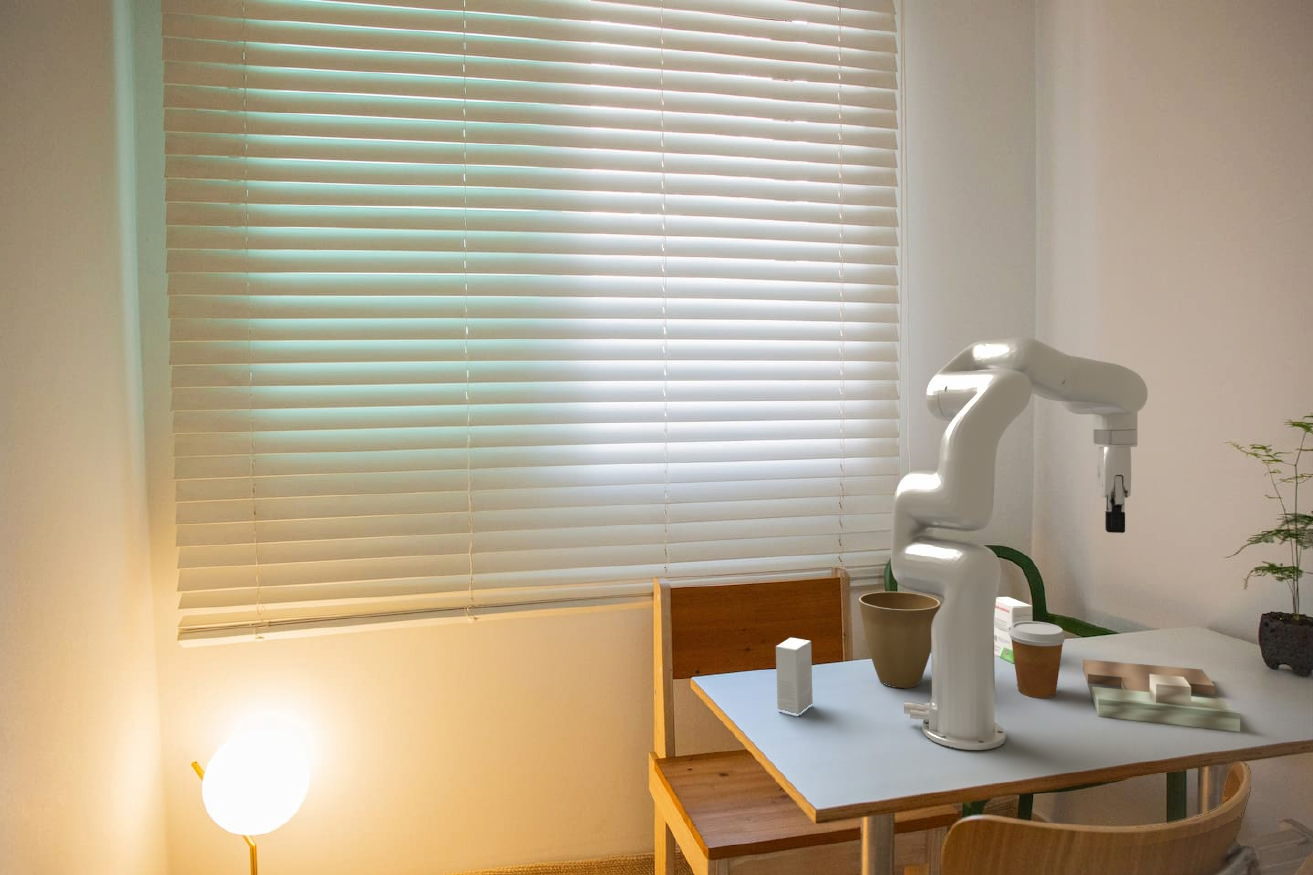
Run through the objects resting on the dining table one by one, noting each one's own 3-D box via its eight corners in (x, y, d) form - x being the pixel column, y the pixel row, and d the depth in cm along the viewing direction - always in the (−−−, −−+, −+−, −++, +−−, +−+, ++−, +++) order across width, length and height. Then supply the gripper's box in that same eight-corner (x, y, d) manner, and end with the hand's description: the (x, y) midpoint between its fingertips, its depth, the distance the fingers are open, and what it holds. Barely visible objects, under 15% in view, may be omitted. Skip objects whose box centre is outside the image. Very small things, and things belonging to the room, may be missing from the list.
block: (1155, 707, 135) (1156, 683, 135) (1149, 696, 140) (1149, 674, 140) (1190, 710, 134) (1191, 686, 133) (1183, 699, 138) (1183, 676, 138)
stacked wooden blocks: (1098, 716, 137) (1098, 698, 137) (1082, 669, 160) (1082, 654, 160) (1240, 731, 130) (1240, 713, 130) (1202, 679, 153) (1202, 664, 153)
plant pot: (942, 698, 147) (941, 611, 146) (857, 691, 152) (856, 607, 151) (940, 671, 161) (939, 592, 160) (862, 666, 166) (861, 588, 165)
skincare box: (791, 701, 148) (790, 636, 147) (813, 706, 145) (812, 640, 145) (776, 712, 143) (774, 645, 142) (798, 717, 140) (797, 649, 140)
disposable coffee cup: (997, 686, 152) (996, 623, 152) (1038, 680, 155) (1037, 618, 154) (1035, 704, 143) (1035, 637, 142) (1078, 697, 146) (1078, 631, 145)
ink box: (1034, 662, 165) (1034, 605, 165) (1012, 664, 164) (1012, 606, 164) (1008, 649, 174) (1008, 595, 173) (987, 651, 173) (987, 597, 172)
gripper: (1089, 436, 167) (1089, 525, 168) (1098, 441, 153) (1098, 537, 154) (1131, 436, 164) (1130, 526, 165) (1144, 441, 150) (1143, 539, 151)
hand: (1115, 531), depth 160 cm, fingers closed
